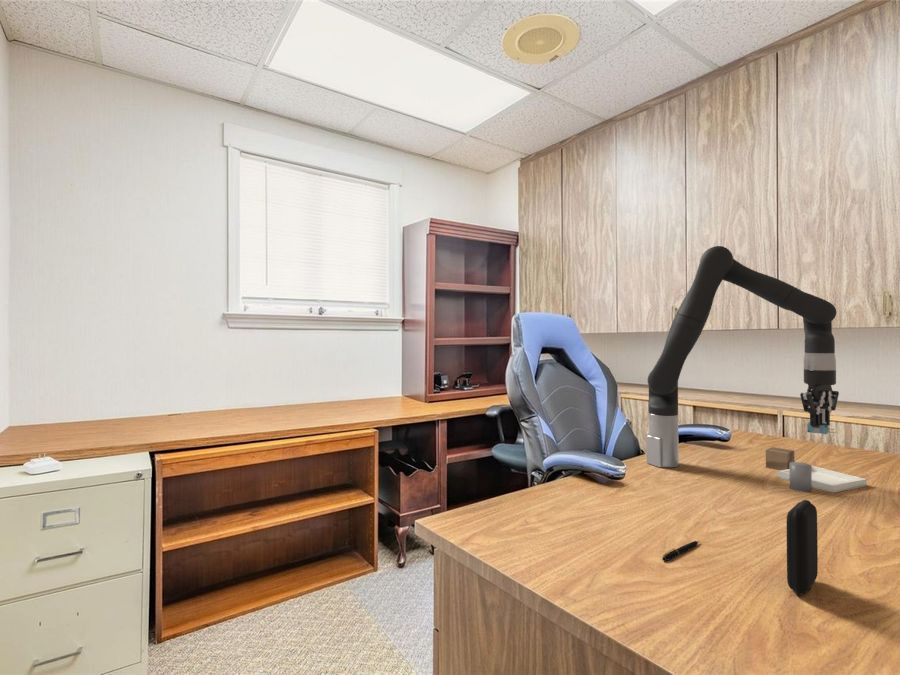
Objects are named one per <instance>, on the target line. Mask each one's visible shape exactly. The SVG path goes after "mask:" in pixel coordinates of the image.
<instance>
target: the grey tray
mask: <svg viewBox="0 0 900 675" xmlns="http://www.w3.org/2000/svg"><path fill="white" fill-rule="evenodd" d="M811 467H812V488H814V489H818V490H821V491H824V492H828V493H832V494H834V493H838V492H843V491H849V490H854V489H859V488H860V489H861V488H864V487H867V486H868V484H867V483H868V478H863V477H860V476H855V475H852V474H847V473H844V472H839V471H835V470H831V469H827V468H822V467H819V466H814V465H811ZM777 478H779V479H782V480H785V481H789V482H790V470H789V469H786V470H777Z"/></svg>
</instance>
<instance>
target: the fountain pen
mask: <svg viewBox="0 0 900 675" xmlns="http://www.w3.org/2000/svg"><path fill="white" fill-rule="evenodd" d="M699 543H700V540H693V541H692V542H689V543H687V544H684V545H682V546H680V547H678V548H673V547H672V548H671V549H670V550H667V551H666V552H664V553H663V554H662V558H661V559H662V561H664V562H665V561H669V560H673V559H674V558H676V557H679V556H680V555H682V554H683V553H685V552H687V551H689V550H690V549H691V550H692V548H694V547H696V546H697V545H698V544H699Z"/></svg>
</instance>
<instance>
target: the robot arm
mask: <svg viewBox="0 0 900 675" xmlns="http://www.w3.org/2000/svg"><path fill="white" fill-rule="evenodd" d="M722 281H725V282H727V283H731V284H733V285H736V286H737V287H740V288H742V289H744V290H747V291H749V292H750V293H752V294H754V295H756V296H758V297H760V298H762V299H763V300H765V301H767V302H769V303H771V304H773V305H774V306H777V307H779V308H780V309H783V310H786V311H790V312H792V313H794V314H796V315H798V316H800V317H801V318H802V324H803V331H804V356H803V382H804V384H806V385H807V390H806V392H800V395H799V396H800V400H801V404H802V407H803V411H804V412H805V413H808V414H809V421H810V425H811V426H813V427H819V426H820V415H819V413H820V408H821V407H822V406H823V400H825V402H826V403H829V405H828V408H827V409H825V422H826V424H827V425H828V427H829V426H830V425H831V424H830V423H831V419H830V417H831V413H832V411H836V409H837V404H838V398H839V395H840V393H839V390H833V388H832V386H835V385H837V359H836V355H835V353H836V352H835V351H836V346H835V345H836V340H835V336H834V334H833V333H832V332H833V328H832V327H833V325H832V324H833V323H832V321H834V320H835V318H836V317H837V308H836V307H835V305H834V304H833V303H832V302H830V301H828V300H826V299H823V298H822V297H819V296H816V295H814V294H811V293H808V292H805V291H803V290H801V289H799V288H798V287H796V286H794V285H791V284H790V283H787V282H785V281H783V280H781V279H779V278H776V277H774V276H771V275H768V274H765V273H762V272H759V271H756V270H754V269H752V268H749V267H747V266H746V265H743V264H742V263H740V262H739V261H738V260H736V259H734V256H733V253H732V252H731V251H730V249H729V248H727V247H725V246H723V245H716V246H712V247H710V248H708V249H707V250H705V251H704V253H702V255H701V257H700V260H699V264H698V267H697V270H696V272H695V276H694V279H693V282H692V284H691V286H690V288H689V289H688V291H687V293H686V294H685V296H684V298H683V300H682V302H681V303H680V306H679V308H678V309H677V311H676V314H675V315H674V318H673V321H672V323H671V325H670V328H669V331H668V334H667V337H666V338H665V343H664V347H663V349H662V352H661V354H660V356H659V358H658V359H657V361H656V364H655V365H654V366H653V369H652V370H651V371H650V372H649V373H648V376H647V385H648V412H647V413H648V435H645V436H646V437H645V438H646V439H645V441H646V444H645V445H646V463H647V464H648V465H652V466H655V467H658V468H677V467H679V466H680V465H679V462H680V461H679V460H680V459H679V458H680V456H679V453H680V452H679V450H680V449H679V379H680V375H681V372H682V370H683V367H684V364H685V362H686V360H687V358H688V356H689V354H690V353H691V351H692V350H693V348H694V347H695V345H696V343H697V341H698V340H699V338H700V336H701V334H702V331H704V328H705V326H706V324H707V320H708V318H709V315H710V312H711V311H712V310H711V309H712V306H713V303H714V299H715V295H716V293H717V291H718V288H719V287H720V285H721V284H722ZM814 402H818V403H814ZM826 403H825V404H826ZM807 405H809V408H808V406H807ZM815 406H816V410H815ZM821 417H822V410H821ZM823 424H825V423H823Z"/></svg>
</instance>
